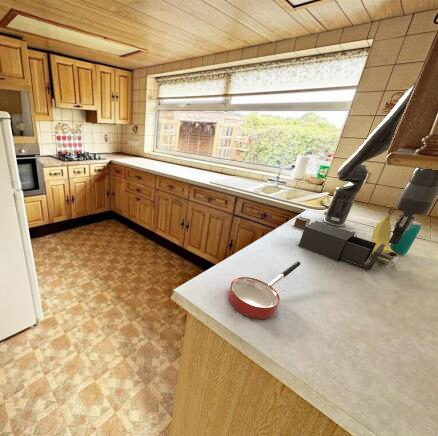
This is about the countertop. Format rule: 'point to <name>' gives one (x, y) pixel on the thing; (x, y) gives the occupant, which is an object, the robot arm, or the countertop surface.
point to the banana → (384, 237)
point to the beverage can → (406, 239)
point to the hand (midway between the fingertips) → (393, 243)
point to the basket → (363, 252)
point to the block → (301, 222)
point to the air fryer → (325, 239)
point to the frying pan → (256, 295)
